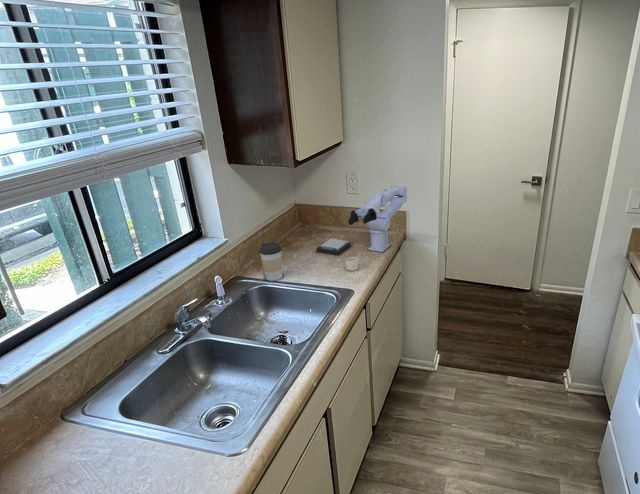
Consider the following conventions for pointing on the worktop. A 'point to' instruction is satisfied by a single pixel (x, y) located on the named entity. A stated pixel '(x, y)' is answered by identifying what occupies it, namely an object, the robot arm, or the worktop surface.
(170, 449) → the worktop surface
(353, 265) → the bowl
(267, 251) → the coffee cup
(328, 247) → the scale
